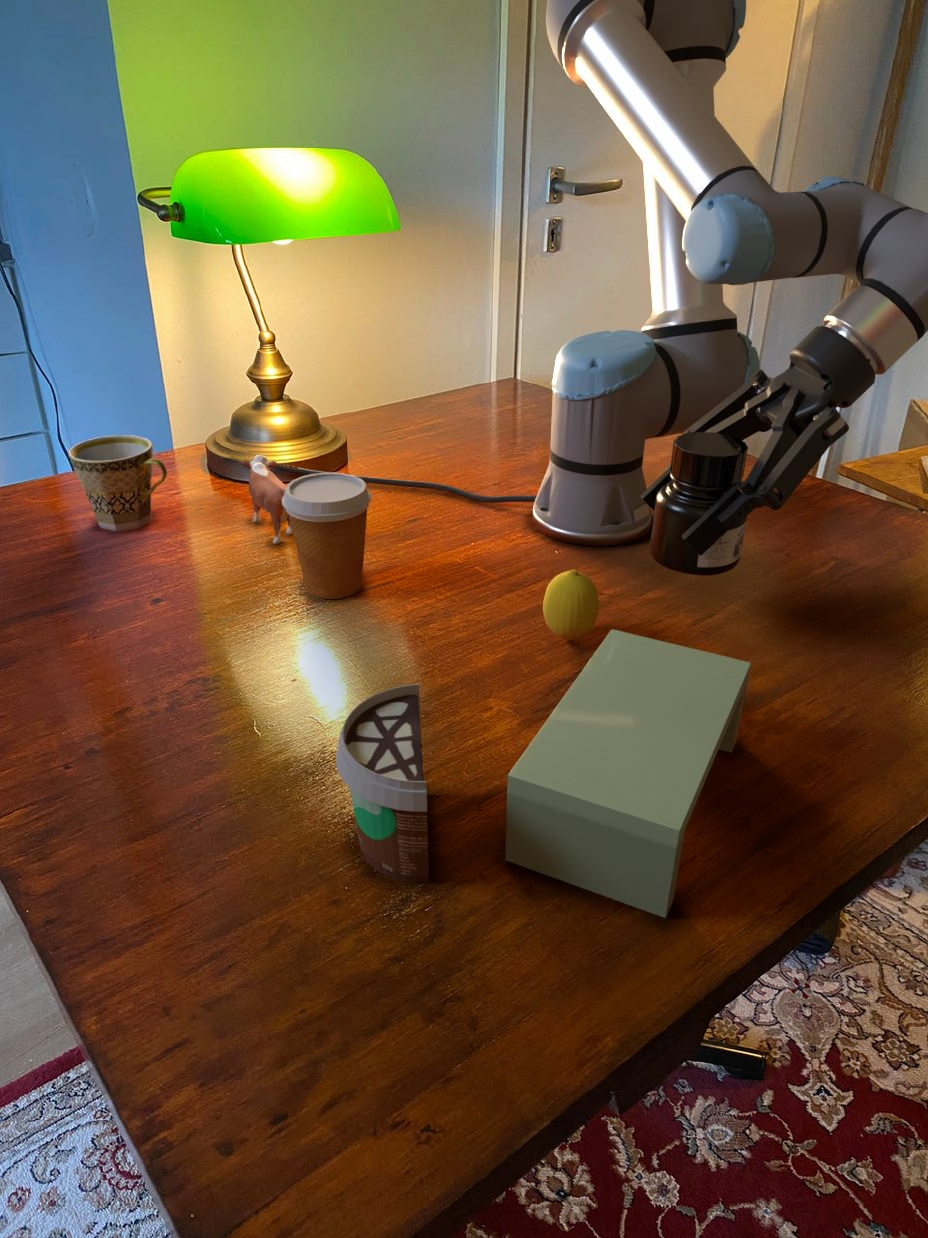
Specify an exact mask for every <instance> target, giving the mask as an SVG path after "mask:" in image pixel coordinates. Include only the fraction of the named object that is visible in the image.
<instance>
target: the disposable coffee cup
mask: <svg viewBox="0 0 928 1238" xmlns="http://www.w3.org/2000/svg"><path fill="white" fill-rule="evenodd" d="M356 476H357V475H353V474H349V473H343V472H329V473H318V474H311V475H303V476H300V477H298V478H294V479H293V480H291V481H290V482H289V483H287V484H286V488H285V495H284V496H283V498H282V505H283V506H284V508H285V509H286V512H287V513H288V516H289V519H290V523H291V528H292V532H293V534H292V536H293V540H294V544H295V548H296V552H297V556H298V561H299V565H300V569H301V573H302V577H303V581H304V586H305V590H306V592H307V593H308V594H309V595H311V596H313V597H315V598H319V599H326V600H335V599H337V600H338V599H343V598H347V597H350V596H352V595H354V594H356V593H357V592H359V590H361V588H362V585H363V572H364V560H365V546H366V545H365V544H366V532H367V520H368V519H367V518H368V508H369V507H370V506H369V505H370V503H371V500H372V494H371V492H370V491H369V490H368V488H367V483H365V482H364V481H363V480H362V479H360V478H358V477H356Z"/></svg>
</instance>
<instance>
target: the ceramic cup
mask: <svg viewBox="0 0 928 1238" xmlns="http://www.w3.org/2000/svg"><path fill="white" fill-rule="evenodd" d="M153 447H154V446H153V442H152V441H151V440H150V439H149V438H146V437H145V436H144V437H143V436H139V435H131V434H113V435H104V436H98V437H94V438H90V439H87V440H83V441H81V442H78V443H76V444H75V445H73V446H72V447H70V449H69V450H68V452H67V454H68V457H69V460H70V462H71V465H72V468H73V470H74V471H75V472H74V473H75V474H76V477H77V479H78V481H79V483H80V485H81V486H82V489H83V490H84V492H85V494H86V497H87V500H88V502H89V504H90V507H91V509H92V512H93V514H94V517H95V519H96V521H97V523H98V526H99V527H100V528H101V529H104V530H108V531H113V532H122V531H129V530H135V529H140V528H141V527H143V526H146V525H147V524H149V523H150V522H152V493H154V491H155V490H156V488H157V487H158V486H159V485H161V484H162V483H163V482H165V480H166V478H167V476H168V475H167V474H168V471H167V468H166V466H165V464H164V462H162V461H161V459H158V458H154V448H153ZM154 466H157V467H158V468H159V469H160V470H161V474H162V475H161V478H160V479H159V480H158V481H156V482H155V483H153V485H152V480H153V479H152V478H153V467H154Z"/></svg>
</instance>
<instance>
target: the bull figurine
mask: <svg viewBox="0 0 928 1238" xmlns="http://www.w3.org/2000/svg"><path fill="white" fill-rule="evenodd" d="M253 457H254V459H253V461H252V462H251V461H249V460H245V461H244V460H242V462H241V465H242V466H243V467H245V468H250V471H249V481H248V493H249V494H250V496H251V502H252V506H253V513H254V516H253V518H252V523H254V524H255V523H260V522H261V515H260V512H261V511H264V512H266V513H268V514H269V515H270V517H271V521H272V525H273V532H274V539H273V541H272V544H273V545H280V543H281V535H280V531H281V524H282V525H283V524H285V523H287V528H286V531H285V533H286V534H287V535H293V532H292V528H291V523H290V519H289V516H288V513H287V512H286V509H285V508H284V506H283V505H282V498H283V496H284V495H285V488H286V486H287V484H285V483H283V482H282V481H281V480H280V479H279V478H278V477H277V475H276V474H275V473H274V472H273V471H271V470H270V469H274V468H275V467H277V461H275V460H271V461H270V460H269V459H268V457H266V456H265V455H263V454H257V455H255V456H253ZM269 461H270V462H269Z"/></svg>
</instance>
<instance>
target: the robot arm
mask: <svg viewBox="0 0 928 1238" xmlns="http://www.w3.org/2000/svg"><path fill="white" fill-rule="evenodd" d="M545 10H546V11H545V25H546V35H547V38H548V41H549V45H550V47H551V51H552V53H553V55H554V57H555V59H556V61H557V62H558V64H559V65H560V67H561V68H562V70H563V71H564V72H565V74H566V75H567V77H568V78H569V80H571V81H572V83H574V84H576V85H578V86H580V87H584V88H589V89H590V91H591V92H592V93H593V95H594V96H595V97H596V99H597V101H598V102H599V103H600V105H601V106H602V107H603V109H604V110H605V111H606V113H607V114H608V116H609V117H610V118H611V119H612V122H614V124H615V125H616V127H617V128H618V129H619V131H620V132H621V133H622V135H623V137H624V138H625V139H626V141H627V142H628V143H629V145H630V146H631V147H632V149H633V150H634V152H635V153H636V154H637V156H638V157H639V159H640V161H642V169H643V187H644V200H645V201H644V202H645V217H646V227H647V228H646V231H647V243H648V244H647V246H648V260H649V261H648V262H649V275H650V291H651V306H652V307H651V308H652V312H651V314H650V316H649V317H648V319H647V320H646V322H645V323H644V324H643V325H642V327H641V332H640V331H635V330H626V329H620V330H618V329H617V330H615V331H611V330H604V331H596V332H593V333H592V332H591V333H587V334H583V335H581V336H577V337H576V338H573V339H571V340H569V341H567V343H565V344H563V346H562V347H561V348H560V350H559V351H558V352H557V354H556V357H555V361H554V370H553V377H552V379H551V390H552V401H551V402H552V404H551V408H552V409H551V422H550V425H551V426H550V429H551V430H550V445H549V446H550V447H549V448H550V449H549V462H548V466H547V469H546V471H545V474H544V477H543V479H542V481H541V484H540V486H539V489H538V492H537V494H535V495H530V494H529V495H528V494H527V495H526V494H525V495H523V494H522V495H519V494H518V495H517V494H516V495H515V494H513V495H511V494H510V495H483V494H478V493H474V492H470V491H467V490H464V489H461V488H458V487H456V486H452V485H449V484H442V483H437V482H429V481H420V480H419V481H418V480H417V481H416V480H407V479H394V478H383V477H374V476H363V475H362V476H361V475H355V476H356V477H358V478H360V479H362V480H363V481H364V482H365V484H372V485H384V486H394V487H404V488H405V487H406V488H418V489H429V490H436V491H441V492H446V493H451V494H454V495H457V496H460V497H461V498H465V499H468V500H472V501H476V502H481V503H489V504H491V503H492V504H497V503H533V507H532V523H533V524H534V527H536V529H537V530H539V531H540V532H541V533H542V534H544V535H546V536H548V537H550V538H552V539H554V540H556V541H557V540H558V541H560V542H564V543H568V544H573V545H579V546H589V547H606V546H617V545H622V544H627V543H631V542H634V541H636V540H638V539H640V538H643V537H644V536H645V535H646V534H647V533H649V531H650V530H651V524H652V516H653V512H654V510H655V501H656V496H657V494H658V492H659V490H660V489H661V488H662V487H663V486H664V485H666V484H668V483H669V482H670V481H671V478H670V472H671V470H670V467H671V464H669V465H668V466H667V467H666V468H665V470H664V472H663V473H662V474H660V476H659V477H658V478H657V479H656V480H655V481H654V482H653V483H652V484H651V485H650V486H649V487H647V484H646V478H645V475H644V470H643V465H644V464H643V463H644V455H645V445H646V441H647V440H650V439H656V438H661V437H668V436H673V435H679V434H682V435H683V434H686V433H695V432H713V433H719V434H726V435H729V436H732V437H736V438H738V439H740V440H742V441H744V440H746V439H748V438H750V437H751V436H754V435H755V434H756V433H766V432H769V431H770V430H771V435H770V436H769V438H768V439H767V441H766V443H765V445H764V447H763V448H762V451H761V452H760V453H759V456H758V458H757V459H756V461H755V463H754V465H753V466H752V468H751V470H750V471H749V474H748V475H747V476H746V477H747V478H746V479H745V481H742V482H738V483H737V486H738V487H739V488H740V490H741V491H742V493H741V492H740V491H739V490H738V489H737V488H736V487H735V486H733V487H732V488H731V489H730V490H729V491H728V492H727V493H726V494H725V495H724V496H723V497H722V498H720V499H719V500H718V501H717V502H716V503H715V504H714V505H713V506H712V507H711V508H710V509H709V510H708V511H707V512H706V513H705V514H704V515H703V516H702V517H701V518H700V519H699V520H698V521H697V522H695V523H694V524H693V525H692V526H691V527H690V528H689V529H688V530H687V531H686V532H685V533H684V534H683V535H682V536H681V537H682V538H683V539H684V540H685V541H686V542H687V543H688V544H689V545H690V546H691V547H692V548H693V549H694V550H695V551H696V552H697V553H698V554H699V555H700V556H701V555H703V554H704V553H705V552H706V551H707V550H708V549H709V548H710V547H711V546H712V545H713V544H714V543H715V542H716V541H717V540H718V539H719V538H720V537H722V536H723V535H724V534H725V533H726V532H727V531H728V530H729V531H730V530H732V529H733V528H735V527H736V526H737V525H738V524H739V523H740V522H741V521H742V520H743V519H744V518H745V517H746V516H747V515H748V516H749V515H750V514H751V513H752V512H753V511H754V510H755V509H759V508H760V509H761V508H763V507H767V508H770V510H772V511H778V510H780V509H781V508H782V507H783V505H785V503H787V501H788V499H789V498H790V497H791V495H793V493H794V492H795V491H796V489H797V488H798V487H799V486H800V484H801V483H802V482H803V481H804V480H805V478H806V477H807V476H808V474H809V473H810V472H811V471H812V469H813V468H814V467H815V466H816V465H817V463H818V462H819V461H820V459H821V458H822V456H823V455H824V454H825V453H826V452H827V451H828V449H829V448H830V447H831V446H832V445H833V444H834V443H836V442H837V441H839V439H841V438H842V437H843V436H844V435H846V434H847V432H849V430H850V426H849V423H847V421H846V420H845V419H844V417H843V416H842V414H841V413H840V412H839V410H838V409H837V408H839V409H847V408H849V407H851V406H852V405H854V403H855V402H857V401H858V400H859V399H860V397H861V396H863V395H864V394H865V393H866V392H867V391H868V390H869V389H870V388H871V387H872V386H873V385H874V384H875V383H876V375H879V376H881V375H884V374H885V373H887V372H888V371H889V369H890V368H892V366H893V365H894V364H895V363H896V362H898V361H899V360H900V359H901V358H902V357H903V356H904V355H905V354H906V353H907V352H908V351H909V350H910V349H911V348H912V347H914V345H915V344H916V343H918V342H919V341H920V340H921V339H922V338H923V337H924V336H925V334H926V333H927V332H928V212H925V211H923V210H921V209H920V208H913V207H911V206H909V205H907V204H904V203H903V202H901V201H898V200H896V199H893V198H892V197H889V196H887V195H885V194H883V193H880V192H879V191H876V190H875V189H872V188H871V187H869V186H868V185H866V184H865V183H863V182H861V181H857V180H850V179H847V178H843V177H841V176H838V175H837V176H835V175H831V176H824V177H821V178H820V179H819V180H818V181H817V182H815V183H813V184H812V185H809V186H807V187H806V188H805V189H804V190H803V191H788V192H787V191H786V192H785V191H784V192H779V191H777V190H775V189H774V188H773V187H772V186H771V184H770V183H769V182H768V181H767V179H766V178H765V177H764V176H763V175H762V174H761V173H760V171H759V170H758V169H757V167H756V166H755V165H754V164H753V163H752V161H751V160H750V158H749V157H748V156H747V155H746V154H745V152H744V150H742V149H741V147H740V146H739V145H738V143H737V142H736V141H735V139H733V137H732V136H731V134H729V132H728V131H727V129H726V128H725V127H724V126H723V124H722V123H721V122H720V121H719V120H718V118H717V117H716V114H715V113H716V111H715V94H714V93H715V91H714V89H715V87H716V85H717V84H718V82H719V81H720V80H721V78H723V75H724V74H725V73H726V71H727V59H728V57H730V55H732V53H733V52H734V50H735V48H736V47H737V45H738V43H739V41H740V39H741V34H740V32H739V31H740V30H742V29H743V28H744V25H745V22H746V14H747V0H547V2H546V9H545ZM828 275H840V276H843V277H846V278H848V279H849V280H851V281H853V282H855V283H857V284H858V285H857V286H856V287H854V288H853V289H852V290H851V291H850V292H849V293H848V294H847V295H846V296H845V297H844V298H843V299H842V300H841V301H840V302H839V303H838V304H837V305H836V306H834V308H832V309H831V311H829V312H828V313H827V314H826V315H825V316H824V317H823V323H822V324H823V325H819V326H815V327H814V328H813V329H812V330H811V331H809V333H808V334H807V335H805V337H803V338H802V340H801V341H799V343H798V344H797V345H796V346H795V347H793V349H792V350H791V351H790V353H789V360H790V363H789V367H788V368H786V370H784V371H783V372H781V373H780V374H778V375H776V376H775V377H771V376H768V375H767V374H766V372H765V371H764V370H763V368H762V369H761V366H760V365H761V363H760V358H759V353H758V351H757V348H756V347H754V346H753V341H752V340H751V338H749V337H748V336H747V335H746V334H745V333H742V332H740V331H738V330H739V329H738V314H736V313H735V312H734V311H733V310H731V309H730V308H729V306H728V305H726V303H725V302H724V289H723V288H724V287H723V285H728V286H744V285H747V284H753V283H760V282H769V281H776V280H784V279H786V280H787V279H798V278H808V277H819V276H820V277H821V276H828ZM297 468H298V469H295V468H290V467H285V466H281V465H277V467H275V468H273V470H274V469H275V470H279V471H282V472H288V473H293V474H297V475H303V476H306V475H311V474H318V473H330V472H328V471H321V470H314V469H308V468H304V467H303V468H302V467H297ZM775 489H776V491H775ZM748 516H747V517H748Z"/></svg>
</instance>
